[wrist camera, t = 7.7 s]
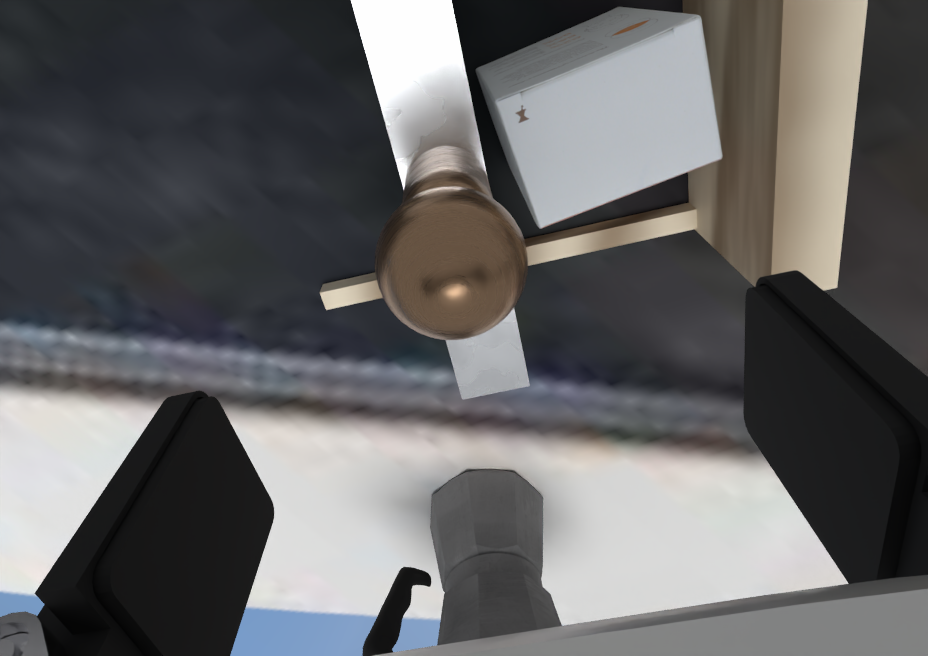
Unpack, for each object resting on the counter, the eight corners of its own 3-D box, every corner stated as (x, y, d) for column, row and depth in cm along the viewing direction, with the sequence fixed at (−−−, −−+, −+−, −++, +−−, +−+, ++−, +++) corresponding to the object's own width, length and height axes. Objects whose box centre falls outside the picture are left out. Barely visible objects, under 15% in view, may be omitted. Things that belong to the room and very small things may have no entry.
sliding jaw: (437, -102, 26) (444, -248, 9) (512, 275, 36) (584, 545, 19) (349, -78, 27) (200, -179, 10) (446, 289, 36) (458, 568, 19)
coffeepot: (587, 494, 47) (663, 748, 32) (529, 567, 51) (570, 824, 36) (406, 431, 43) (391, 686, 28) (358, 516, 47) (322, 780, 32)
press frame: (745, -180, 27) (895, -255, 18) (739, 213, 36) (836, 287, 27) (201, -35, 28) (100, -41, 20) (330, 303, 38) (299, 400, 29)
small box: (507, 166, 34) (534, 234, 25) (472, 66, 31) (489, 101, 22) (646, 111, 33) (728, 162, 24) (622, 2, 30) (704, 12, 21)
